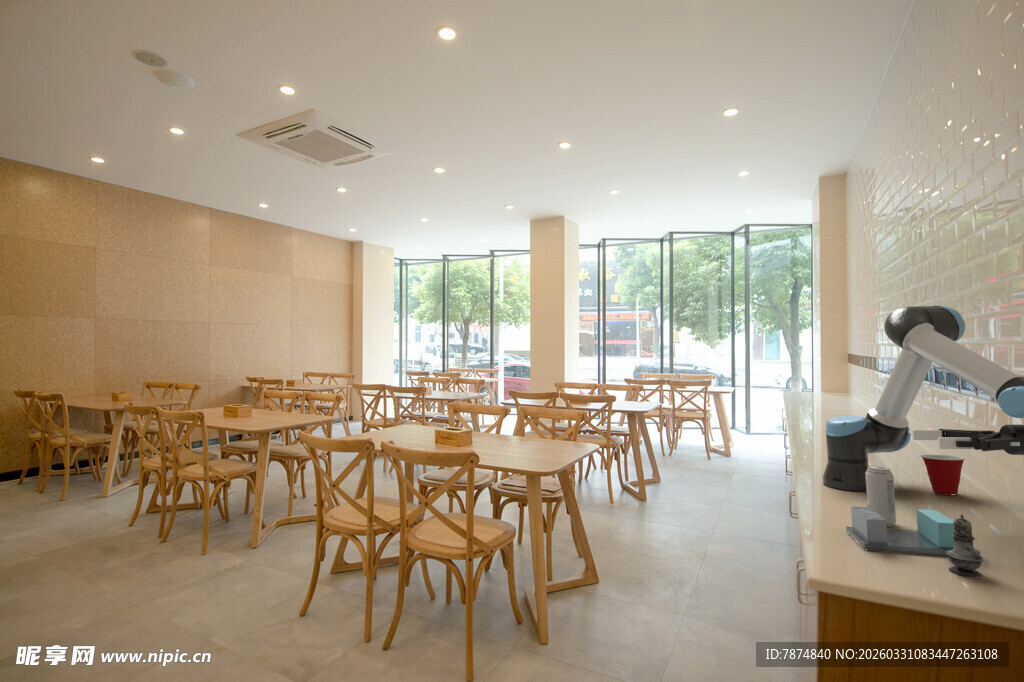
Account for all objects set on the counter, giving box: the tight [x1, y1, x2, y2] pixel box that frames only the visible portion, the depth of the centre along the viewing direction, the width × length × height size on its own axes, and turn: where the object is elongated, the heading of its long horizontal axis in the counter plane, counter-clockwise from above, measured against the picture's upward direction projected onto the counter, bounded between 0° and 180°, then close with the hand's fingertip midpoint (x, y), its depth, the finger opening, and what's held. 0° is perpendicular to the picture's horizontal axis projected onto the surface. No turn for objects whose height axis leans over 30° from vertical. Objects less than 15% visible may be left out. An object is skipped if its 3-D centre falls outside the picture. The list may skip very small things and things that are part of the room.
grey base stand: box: [845, 505, 981, 557], centre depth 119 cm, size 12×22×7 cm, turn 73°
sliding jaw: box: [916, 508, 955, 548], centre depth 117 cm, size 10×4×6 cm, turn 163°
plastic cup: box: [920, 454, 966, 496], centre depth 159 cm, size 11×11×12 cm
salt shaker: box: [946, 513, 985, 579], centre depth 103 cm, size 6×6×12 cm
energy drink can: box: [865, 465, 897, 528], centre depth 133 cm, size 6×6×15 cm
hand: (924, 438), depth 130 cm, fingers open, 13 cm apart
